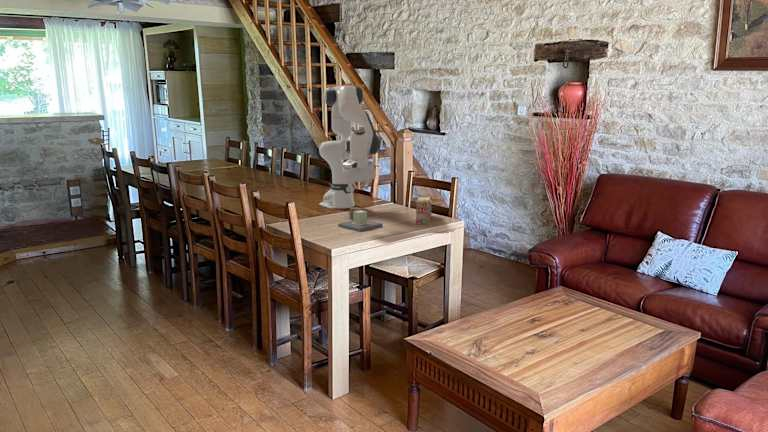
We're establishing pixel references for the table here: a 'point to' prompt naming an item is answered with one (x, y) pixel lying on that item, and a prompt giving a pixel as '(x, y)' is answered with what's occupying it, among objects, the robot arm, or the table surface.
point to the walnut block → (353, 211)
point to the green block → (360, 217)
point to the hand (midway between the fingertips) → (359, 189)
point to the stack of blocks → (423, 210)
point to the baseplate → (360, 227)
